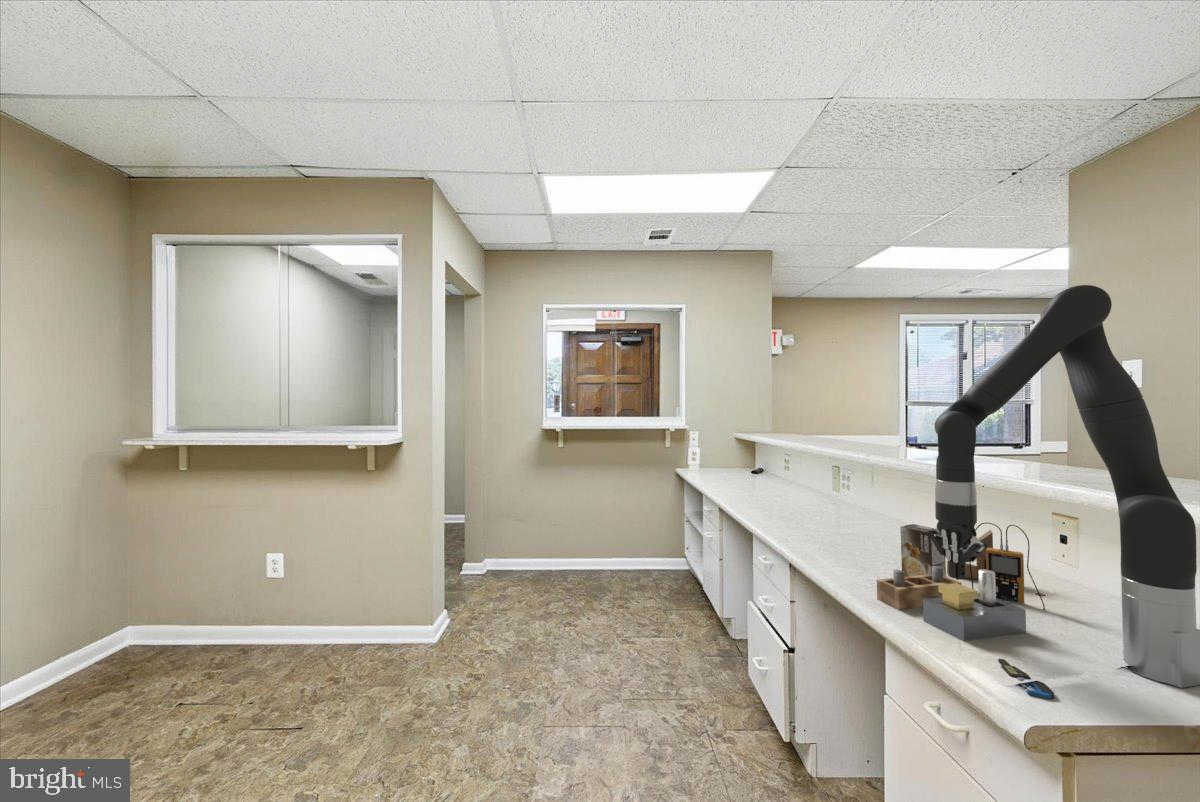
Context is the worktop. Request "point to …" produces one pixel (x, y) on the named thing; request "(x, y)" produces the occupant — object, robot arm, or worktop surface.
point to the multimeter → (1007, 570)
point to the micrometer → (1039, 686)
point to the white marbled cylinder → (987, 588)
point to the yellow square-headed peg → (958, 596)
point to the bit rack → (911, 588)
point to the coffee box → (919, 551)
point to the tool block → (975, 619)
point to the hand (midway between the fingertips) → (956, 578)
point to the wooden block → (986, 539)
